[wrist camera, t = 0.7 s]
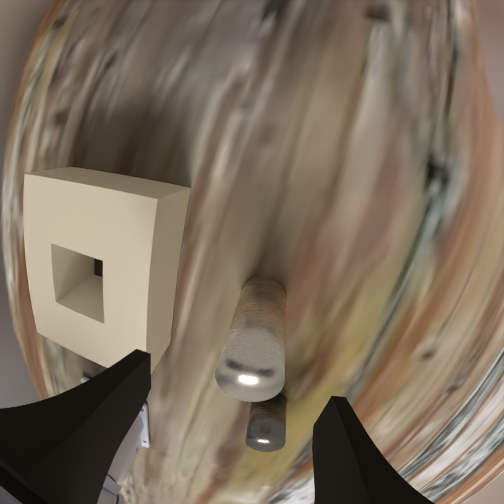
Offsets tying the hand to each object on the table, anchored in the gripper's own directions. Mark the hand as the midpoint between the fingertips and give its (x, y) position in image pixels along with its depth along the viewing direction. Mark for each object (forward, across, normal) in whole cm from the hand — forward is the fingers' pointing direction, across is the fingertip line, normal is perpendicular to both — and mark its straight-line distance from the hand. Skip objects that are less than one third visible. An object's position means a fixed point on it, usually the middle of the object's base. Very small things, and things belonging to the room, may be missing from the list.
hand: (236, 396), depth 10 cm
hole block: (+9, +11, 0) cm, 14 cm away
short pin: (+10, -3, +10) cm, 14 cm away
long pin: (+9, 0, 0) cm, 9 cm away
